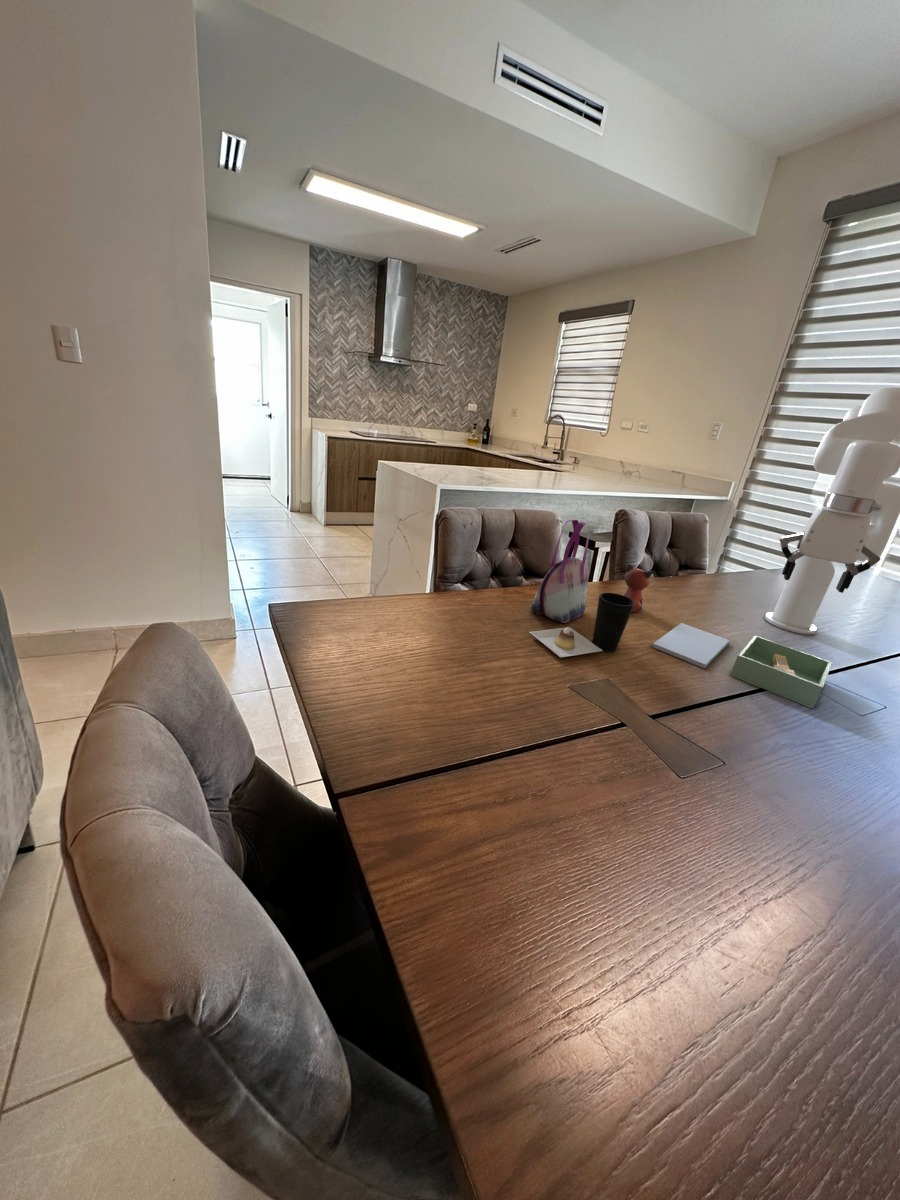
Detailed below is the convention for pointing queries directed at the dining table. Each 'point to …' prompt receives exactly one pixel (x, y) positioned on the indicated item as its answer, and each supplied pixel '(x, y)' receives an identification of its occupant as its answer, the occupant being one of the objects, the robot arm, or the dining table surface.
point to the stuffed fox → (636, 585)
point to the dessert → (565, 642)
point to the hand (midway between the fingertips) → (812, 584)
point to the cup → (611, 620)
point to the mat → (691, 644)
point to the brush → (781, 664)
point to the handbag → (564, 583)
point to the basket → (797, 688)
